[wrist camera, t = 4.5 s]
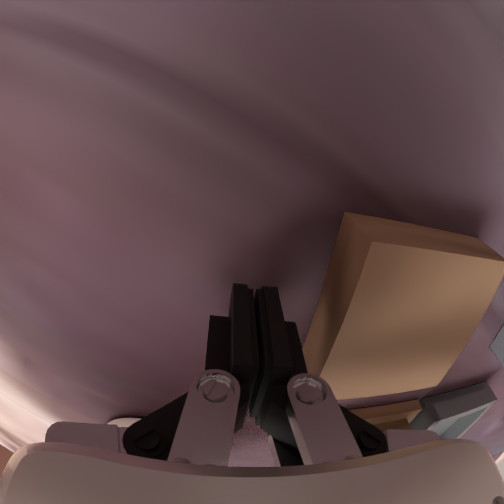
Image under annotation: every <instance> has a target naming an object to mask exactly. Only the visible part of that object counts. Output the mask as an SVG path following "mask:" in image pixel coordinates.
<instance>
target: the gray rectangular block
mask: <svg viewBox="0 0 504 504" xmlns="http://www.w3.org/2000/svg"><path fill="white" fill-rule="evenodd" d="M489 348H490V349H491V350H492V352H493V353H494V354H495V356H496V357H497V359H498V360H499V361H500V363H501V364H502V366H503V367H504V325H503V327H502V328H501V330H500V332H499V333H498V335H497V336H496V338H495V340H494V341H493V343H492V344H491V346H490V347H489Z"/></svg>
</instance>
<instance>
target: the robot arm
mask: <svg viewBox="0 0 504 504" xmlns="http://www.w3.org/2000/svg"><path fill="white" fill-rule="evenodd" d="M248 408H249V411H250V417H255V423H256V425H261V428H262V429H263V430H264V431H266V432H267V433H268V434H267V436H268V442H269V445H270V449H271V452H272V456H273V459H274V463H275V466H276V467H228V462H229V456H230V450H231V445H232V439H233V434H234V433H236V432H237V431H238V430H239V429H241V428H242V426H243V422H244V419H245V417H246V415H247V411H248ZM0 504H504V482H503V479H502V477H501V474H500V472H499V470H498V468H497V466H496V464H495V462H494V460H493V458H492V456H491V455H490V453H489V452H488V450H487V449H486V448H485V447H484V446H483V445H482V444H480V443H479V442H476V441H472V440H468V439H443V440H441V439H440V437H439V436H438V434H437V433H435V432H433V431H431V430H393V429H387V430H386V431H385V432H382V431H381V430H380V429H378V428H377V427H375V426H374V425H372V424H370V423H369V422H367V421H365V420H364V419H362V418H360V417H359V416H357V415H355V414H354V413H352V412H350V411H349V410H347V409H346V408H344V407H342V406H341V405H339V404H338V402H337V400H336V398H335V396H334V394H333V392H332V389H331V387H330V386H329V384H328V383H327V382H326V381H325V380H324V379H323V378H321V377H319V376H317V375H314V374H310V373H308V372H307V367H306V363H305V359H304V355H303V351H302V347H301V343H300V339H299V335H298V331H297V327H296V324H295V322H287V321H284V317H283V312H282V307H281V303H280V298H279V293H278V289H277V287H268V286H262V289H261V290H259V289H257V290H256V294H255V299H254V297H253V289H249V288H248V285H246V284H236V283H233V286H232V293H231V301H230V308H229V316H228V317H222V316H212V315H210V321H209V332H208V342H207V353H206V365H205V371H202V372H200V373H199V374H197V375H196V376H195V377H194V379H193V381H192V383H191V386H190V389H189V392H187V393H186V394H184V395H182V396H181V397H179V398H177V399H175V400H174V401H172V402H170V403H169V404H167V405H165V406H164V407H162V408H160V409H158V410H157V411H155V412H153V413H151V414H149V415H148V416H146V417H144V418H142V419H140V420H139V421H137V422H135V423H133V424H132V425H130V426H129V427H118V426H117V424H90V423H75V422H56V423H54V424H52V425H51V426H50V427H49V428H48V430H47V433H46V437H45V442H41V443H34V444H29V445H26V446H23V447H21V448H19V449H18V450H17V451H16V452H15V453H14V454H13V456H12V457H11V458H10V460H9V462H8V463H7V465H6V467H5V469H4V472H3V474H2V477H1V480H0Z"/></svg>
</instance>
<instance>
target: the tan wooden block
mask: <svg viewBox="0 0 504 504" xmlns="http://www.w3.org/2000/svg"><path fill="white" fill-rule="evenodd" d="M503 275H504V258H503V257H502V256H500V255H499V254H498V253H497V252H495V251H494V250H493V249H491V248H490V247H489V246H488V245H486V244H485V243H484V242H482V241H481V240H480V239H478V238H476V237H472V236H467V235H463V234H458V233H454V232H449V231H445V230H440V229H435V228H431V227H426V226H421V225H416V224H411V223H406V222H400V221H395V220H390V219H384V218H379V217H373V216H367V215H362V214H356V213H350V212H344V214H343V218H342V222H341V226H340V229H339V233H338V237H337V240H336V244H335V248H334V251H333V255H332V258H331V262H330V265H329V268H328V272H327V275H326V278H325V282H324V285H323V288H322V291H321V294H320V298H319V301H318V304H317V307H316V310H315V313H314V316H313V319H312V322H311V325H310V328H309V331H308V334H307V337H306V340H305V342H304V345H303V348H302V351H303V355H304V359H305V363H306V367H307V372H308V373H310V374H314V375H317V376H319V377H321V378H323V379H324V380H325V381H326V382H327V383H328V384H329V386H330V387H331V389H332V392H333V394H334V396H335V398H336V400H341V399H353V398H363V397H372V396H380V395H387V394H394V393H401V392H407V391H413V390H418V389H424V388H429V387H434V386H437V385H438V384H439V382H440V381H441V380H442V378H443V377H444V376H445V374H446V373H447V371H448V370H449V369H450V367H451V366H452V364H453V363H454V362H455V360H456V359H457V357H458V356H459V354H460V353H461V351H462V350H463V348H464V347H465V345H466V343H467V342H468V340H469V339H470V337H471V335H472V334H473V332H474V331H475V329H476V327H477V325H478V324H479V322H480V320H481V319H482V317H483V315H484V313H485V311H486V310H487V308H488V306H489V304H490V302H491V300H492V298H493V296H494V294H495V292H496V290H497V288H498V286H499V284H500V282H501V280H502V278H503Z"/></svg>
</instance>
